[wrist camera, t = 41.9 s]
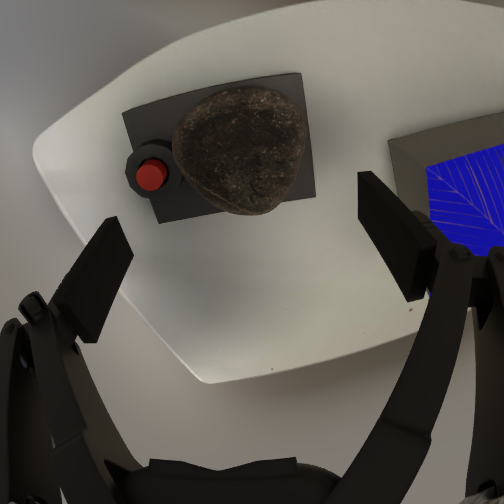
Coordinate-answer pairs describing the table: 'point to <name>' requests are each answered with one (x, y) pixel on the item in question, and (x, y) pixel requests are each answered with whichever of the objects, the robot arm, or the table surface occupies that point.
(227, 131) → the stone
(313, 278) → the table surface
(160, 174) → the tare button
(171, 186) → the scale
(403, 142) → the house
